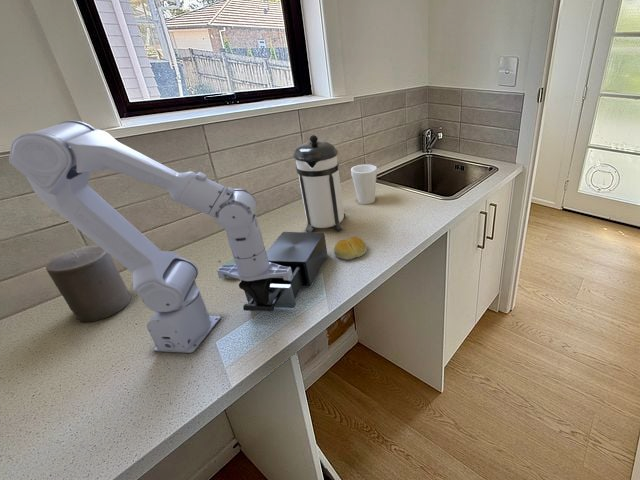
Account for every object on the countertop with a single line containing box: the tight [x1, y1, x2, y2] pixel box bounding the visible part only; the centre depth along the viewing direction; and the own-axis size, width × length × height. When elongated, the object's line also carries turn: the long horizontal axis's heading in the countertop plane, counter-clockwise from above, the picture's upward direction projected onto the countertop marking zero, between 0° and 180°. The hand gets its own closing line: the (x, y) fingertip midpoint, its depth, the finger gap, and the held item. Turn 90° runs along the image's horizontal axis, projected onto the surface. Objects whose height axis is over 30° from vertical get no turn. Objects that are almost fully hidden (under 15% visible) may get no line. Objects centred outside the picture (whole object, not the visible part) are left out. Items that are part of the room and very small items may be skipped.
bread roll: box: [333, 236, 368, 260], centre depth 96 cm, size 8×9×4 cm
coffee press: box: [293, 134, 346, 233], centre depth 106 cm, size 17×16×30 cm
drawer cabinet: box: [266, 231, 329, 288], centre depth 88 cm, size 14×12×8 cm
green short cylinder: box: [223, 258, 235, 280], centre depth 88 cm, size 5×5×3 cm
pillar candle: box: [45, 245, 132, 323], centre depth 73 cm, size 10×10×15 cm
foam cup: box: [350, 163, 378, 205], centre depth 125 cm, size 10×9×13 cm
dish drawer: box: [242, 263, 306, 313], centre depth 78 cm, size 17×10×6 cm, turn 177°
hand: (263, 303), depth 72 cm, fingers closed, pressing on dish drawer
